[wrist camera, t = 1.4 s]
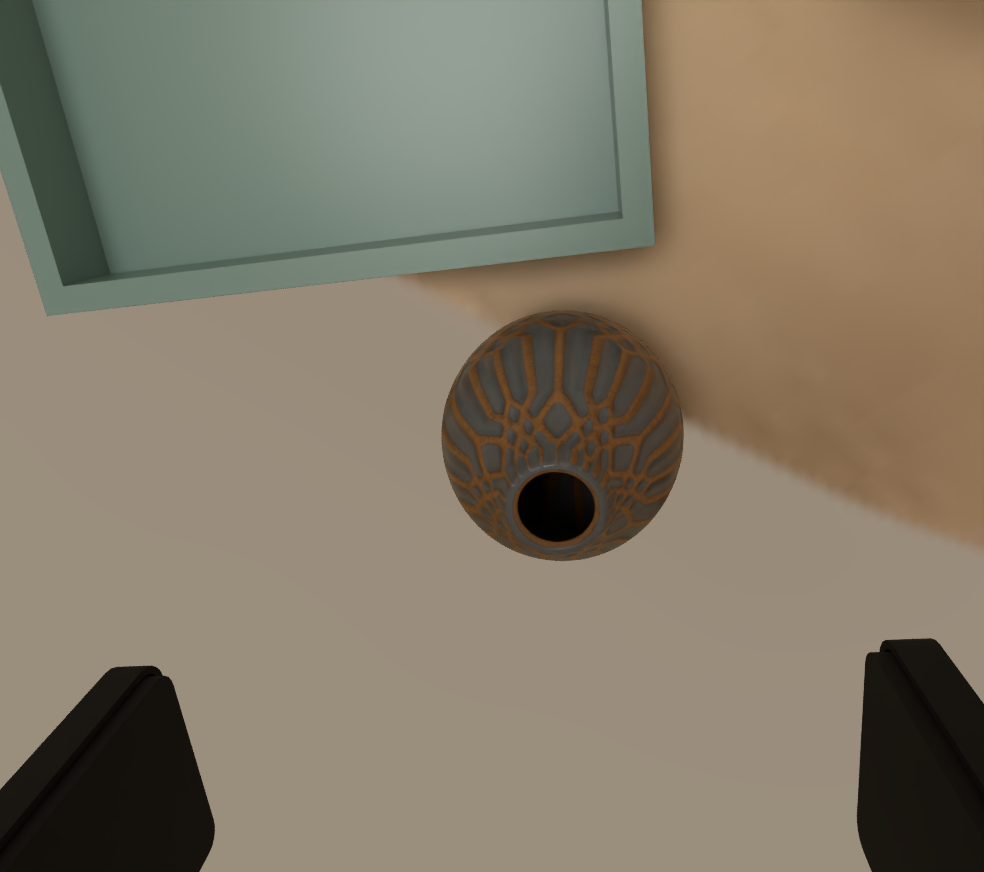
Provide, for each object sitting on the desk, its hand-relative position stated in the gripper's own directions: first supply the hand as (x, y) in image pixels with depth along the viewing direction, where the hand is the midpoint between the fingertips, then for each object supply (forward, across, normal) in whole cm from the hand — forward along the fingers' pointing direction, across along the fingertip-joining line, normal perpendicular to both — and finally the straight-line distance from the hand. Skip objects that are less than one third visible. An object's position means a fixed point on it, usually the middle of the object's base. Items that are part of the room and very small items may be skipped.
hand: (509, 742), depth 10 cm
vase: (+17, 0, 0) cm, 17 cm away
